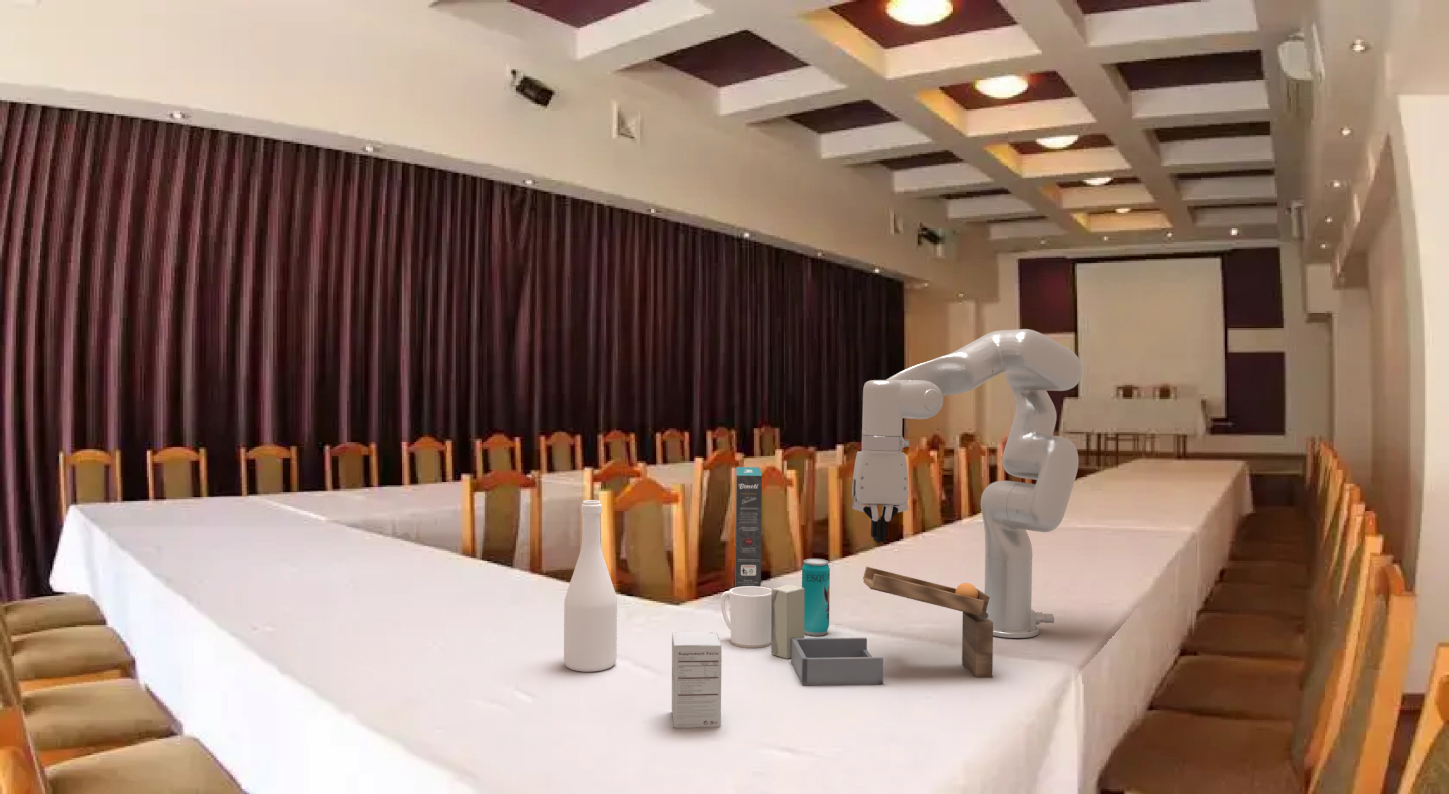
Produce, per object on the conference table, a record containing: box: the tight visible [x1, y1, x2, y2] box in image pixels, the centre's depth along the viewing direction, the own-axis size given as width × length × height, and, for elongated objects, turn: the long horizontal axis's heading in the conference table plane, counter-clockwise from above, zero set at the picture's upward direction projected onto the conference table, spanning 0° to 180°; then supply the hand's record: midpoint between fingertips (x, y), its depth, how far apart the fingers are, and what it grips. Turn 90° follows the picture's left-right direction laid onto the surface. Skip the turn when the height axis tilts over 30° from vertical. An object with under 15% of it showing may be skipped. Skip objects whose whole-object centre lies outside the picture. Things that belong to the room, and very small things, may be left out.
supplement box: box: [671, 631, 723, 729], centre depth 142 cm, size 7×7×13 cm
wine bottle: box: [563, 499, 618, 673], centre depth 168 cm, size 10×10×30 cm
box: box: [770, 584, 805, 660], centre depth 176 cm, size 5×4×13 cm
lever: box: [862, 566, 990, 619], centre depth 171 cm, size 22×16×4 cm
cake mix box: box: [734, 466, 763, 588], centre depth 229 cm, size 22×6×30 cm, turn 179°
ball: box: [955, 582, 978, 599], centre depth 167 cm, size 4×4×4 cm
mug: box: [720, 586, 772, 649], centre depth 185 cm, size 11×9×10 cm
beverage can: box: [801, 558, 831, 637], centre depth 192 cm, size 6×6×15 cm
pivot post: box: [961, 612, 994, 679], centre depth 168 cm, size 3×8×12 cm, turn 4°
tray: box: [790, 637, 884, 686], centre depth 165 cm, size 14×13×4 cm
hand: (879, 541), depth 176 cm, fingers closed
